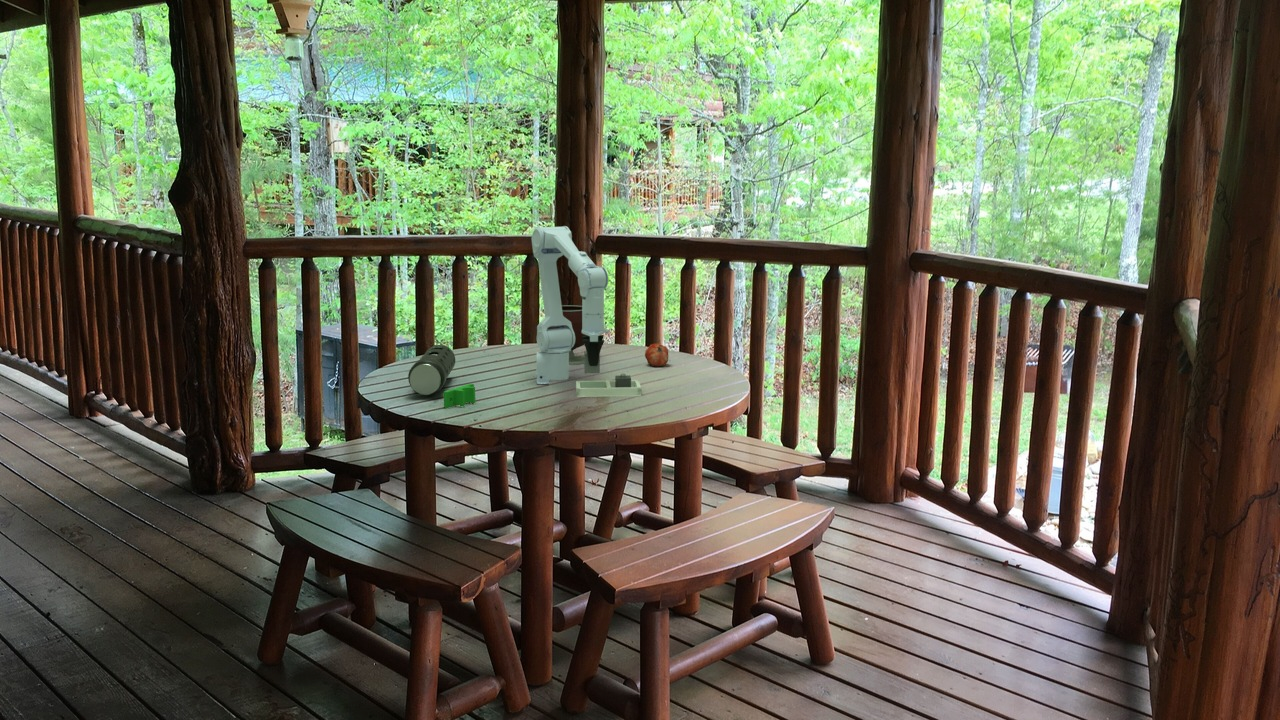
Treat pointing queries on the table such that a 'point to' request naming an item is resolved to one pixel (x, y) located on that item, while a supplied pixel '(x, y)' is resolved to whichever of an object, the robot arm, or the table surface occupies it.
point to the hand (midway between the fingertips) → (593, 364)
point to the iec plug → (590, 368)
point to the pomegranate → (657, 355)
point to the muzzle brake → (431, 370)
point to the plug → (622, 381)
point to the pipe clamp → (459, 395)
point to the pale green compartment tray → (606, 389)
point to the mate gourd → (575, 318)
